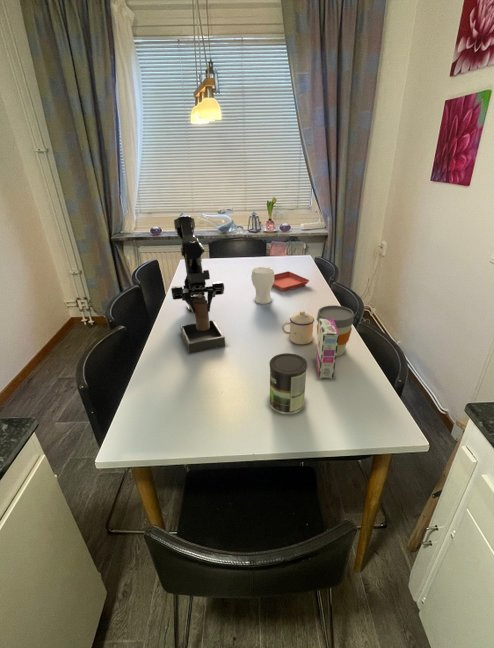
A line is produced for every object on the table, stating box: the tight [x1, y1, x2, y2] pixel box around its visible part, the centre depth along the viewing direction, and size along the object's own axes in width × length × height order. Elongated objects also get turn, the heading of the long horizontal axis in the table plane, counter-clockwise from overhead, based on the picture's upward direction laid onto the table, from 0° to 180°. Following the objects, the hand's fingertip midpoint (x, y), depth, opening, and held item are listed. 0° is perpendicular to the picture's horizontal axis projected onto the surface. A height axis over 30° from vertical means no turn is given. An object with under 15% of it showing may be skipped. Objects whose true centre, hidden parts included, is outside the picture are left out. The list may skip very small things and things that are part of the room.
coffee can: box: [268, 352, 308, 415], centre depth 99 cm, size 10×10×14 cm
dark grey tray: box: [179, 319, 226, 354], centre depth 134 cm, size 16×14×4 cm
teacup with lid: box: [281, 310, 315, 345], centre depth 131 cm, size 12×9×12 cm
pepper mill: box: [193, 293, 210, 331], centre depth 126 cm, size 5×5×14 cm
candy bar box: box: [315, 319, 339, 380], centre depth 112 cm, size 11×5×16 cm, turn 178°
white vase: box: [250, 266, 275, 305], centre depth 163 cm, size 11×11×15 cm
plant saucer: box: [272, 271, 310, 292], centre depth 184 cm, size 18×18×3 cm
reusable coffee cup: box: [316, 304, 355, 357], centre depth 123 cm, size 13×13×15 cm
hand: (201, 312), depth 125 cm, fingers closed on pepper mill, 5 cm apart
